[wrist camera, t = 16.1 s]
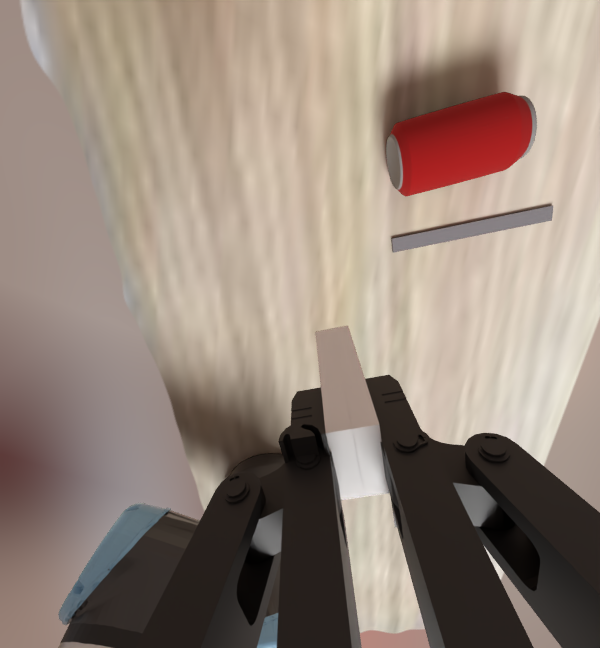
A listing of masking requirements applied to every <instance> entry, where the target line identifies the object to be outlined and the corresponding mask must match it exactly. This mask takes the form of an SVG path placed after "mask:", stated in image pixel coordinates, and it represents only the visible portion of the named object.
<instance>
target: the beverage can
mask: <svg viewBox="0 0 600 648" xmlns="http://www.w3.org/2000/svg"><path fill="white" fill-rule="evenodd" d="M536 129H537V118H536V112H535V108H534V106H533V104H532V102H531V101H530V99H529V98H527V97H526V96H516V95H513V94H510V93H507V92H501V93H497V94H494V95H490V96H487V97H483V98H479V99H476V100H472V101H469V102H465V103H462V104H458V105H455V106H452V107H448V108H445V109H441V110H438V111H435V112H431V113H428V114H424V115H421V116H418V117H415V118H411V119H408V120H405V121H402V122H398V123H396V124H395V125H394V127H393V129H392V131H391V134H390V136H389V137H388V139H387V145H386V158H387V166H388V171H389V176H390V179H391V182H392V184H393V186H394V187H395V188H396V189H397V190H398V191H399V192H400V193H401V194H402V195H404V196H410V195H414V194H417V193H421V192H425V191H429V190H433V189H437V188H441V187H445V186H448V185H452V184H456V183H460V182H463V181H467V180H471V179H474V178H478V177H482V176H485V175H489V174H492V173H496V172H500V171H503V170H506V169H507V168H509V167H510V166H511V165H513V164H514V163H515V162H516V161H517V160H518V159H520V158H522V157H524V156H525V155H526V154H527V153H528V152H529V150H530V149H531V147H532V145H533V142H534V139H535V135H536Z"/></svg>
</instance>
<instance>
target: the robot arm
mask: <svg viewBox="0 0 600 648" xmlns="http://www.w3.org/2000/svg"><path fill="white" fill-rule="evenodd" d="M315 333H316V343H317V352H318V362H319V372H320V382H321V388H315V389H310V390H304V391H298V392H297V393H296V395H295V396H294V398H293V400H292V408H291V411H292V412H291V426H289V427H288V428H286V429H285V430H284V431H283V433H282V434H281V435H280V438H279V445H280V448H281V451H282V455H281V454H263V455H258V456H254V457H251V458H249V459H247V460H245V461H243V462H242V463H240V464H239V465H238V466H237V467H236V468H235V469H234V470H233V471H232V473H231V475H230V476H229V477H227V478H226V479H225V480H224V481H222V482H221V484H220V485H219V486H218V488H217V489H216V491H215V493H214V495H213V497H212V498H211V500H210V502H209V504H208V506H207V508H206V510H205V512H204V514H203V516H202V518H201V520H200V521H199V520H196V519H193V518H191V517H188V516H185V515H182V514H179V513H176V512H174V511H171V509H169V508H166V509H164V508H159V507H156V506H152V505H148V504H145V503H138V504H134V505H132V506H130V507H129V508H127V509H126V510H125V511H124V512H123V513H122V514H121V515H120V517H119V518H118V519H117V521H116V522H115V523H114V525H113V526H112V528H111V529H110V530H109V532H108V533H107V535H106V536H105V538H104V539H103V541H102V542H101V543H100V545H99V546H98V548H97V549H96V551H95V553H94V554H93V556H92V557H91V559H90V560H89V562H88V563H87V565H86V567H85V568H84V570H83V571H82V573H81V575H80V576H79V579H78V581H77V582H76V583H75V585H74V587H73V589H72V590H71V592H70V593H69V594H68V596H67V598H66V599H65V601H64V603H63V605H62V607H61V609H60V611H59V619H60V620H61V621H62V623H63V624H64V625H67V624H69V623H70V624H69V627H68V629H67V631H66V633H65V635H64V637H63V639H62V641H61V643H60V645H59V647H58V648H361V640H360V632H359V625H358V617H357V610H356V602H355V595H354V587H353V580H352V572H351V565H350V557H349V550H348V542H347V535H346V527H345V520H344V514H343V510H342V505H341V500H346V499H353V498H360V497H367V496H374V495H380V494H387V493H389V492H390V496H391V501H392V508H393V516H394V523H395V527H397V528H398V531H399V535H400V539H401V542H402V546H403V549H404V553H405V557H406V560H407V564H408V568H409V571H410V575H411V579H412V582H413V586H414V590H415V593H416V597H417V601H418V604H419V608H420V612H421V615H422V619H423V623H424V626H425V630H426V633H427V637H428V641H429V645H430V648H533V646H532V644H531V642H530V640H529V637H528V635H527V633H526V631H525V629H524V627H523V626H522V623H521V621H520V619H519V617H518V615H517V613H516V611H515V609H514V607H513V605H512V603H511V601H510V599H509V597H508V595H507V593H506V591H505V589H504V586H503V584H502V582H501V580H500V578H499V576H498V574H497V572H496V570H495V568H494V566H493V564H492V562H491V560H490V558H489V556H488V554H487V552H486V550H485V548H486V549H487V550H488V551H489V553H490V554H491V555H492V557H493V558H494V559H495V561H496V562H497V563H498V565H499V566H500V567H501V568H502V570H503V571H504V572H505V574H506V575H507V576H508V578H509V579H510V580H511V582H512V583H513V584H514V585H515V587H516V588H517V589H518V591H519V592H520V593H521V595H522V596H523V597H524V599H525V600H526V601H527V602H528V604H529V605H530V606H531V608H532V609H533V610H534V612H535V613H536V614H537V616H538V617H539V618H540V619H541V621H542V622H543V623H544V625H545V626H546V627H547V629H548V630H549V631H550V632H551V634H552V635H553V636H554V638H555V639H556V640H557V642H558V643H559V644H560V645H561V647H562V648H600V513H599V512H598V511H597V510H596V509H595V508H593V507H592V506H591V505H590V504H588V503H587V502H586V501H585V500H584V499H582V498H581V497H580V496H579V495H577V494H576V493H575V492H574V491H573V490H572V489H570V488H569V487H568V486H567V485H565V484H564V483H563V482H562V481H561V480H560V479H558V478H557V477H556V476H555V475H553V474H552V473H551V472H550V471H549V470H547V469H546V468H545V467H544V466H543V465H542V464H540V463H539V462H538V461H537V460H536V459H534V458H533V457H532V456H531V455H530V454H528V453H527V452H526V451H525V450H524V449H522V448H521V447H520V446H519V445H518V444H516V443H515V442H513V441H512V440H510V439H508V438H507V437H504V436H501V435H498V434H493V433H481V434H476V435H474V436H472V437H471V438H469V439H468V440H467V442H466V444H465V446H463V445H452V444H445V443H441V442H438V441H435V440H433V439H431V438H430V437H429V436H428V435H427V434H426V433H425V432H423V431H422V430H421V428H420V427H419V424H418V422H417V420H416V418H415V416H414V414H413V412H412V410H411V408H410V405H409V403H408V401H407V400H406V397H405V395H404V393H403V391H402V388H401V386H400V384H399V382H398V381H397V380H395V379H394V378H393V377H391V376H390V375H385V376H379V377H374V378H368V379H365V378H364V374H363V371H362V368H361V365H360V362H359V359H358V356H357V352H356V349H355V346H354V343H353V340H352V337H351V333H350V330H349V327H348V326H343V327H337V328H332V329H327V330H321V331H316V332H315ZM483 545H484V546H485V548H484V546H483Z"/></svg>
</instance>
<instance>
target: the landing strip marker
mask: <svg viewBox="0 0 600 648" xmlns="http://www.w3.org/2000/svg"><path fill="white" fill-rule="evenodd" d="M552 213H553V206H547V207H542V208H537V209H532V210H527V211H522V212H518V213H513V214H508V215H503V216H498V217H493V218H488V219H484V220H479V221H474V222H469V223H464V224H459V225H454V226H450V227H445V228H440V229H435V230H430V231H425V232H420V233H416V234H411V235H406V236H401V237H396V238H391V239H392V250H393V252H398V251H403V250H408V249H413V248H418V247H423V246H427V245H432V244H437V243H442V242H447V241H452V240H457V239H462V238H467V237H472V236H477V235H482V234H487V233H492V232H497V231H501V230H506V229H511V228H516V227H521V226H526V225H531V224H536V223H541V222H546V221H551V220H552Z"/></svg>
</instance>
